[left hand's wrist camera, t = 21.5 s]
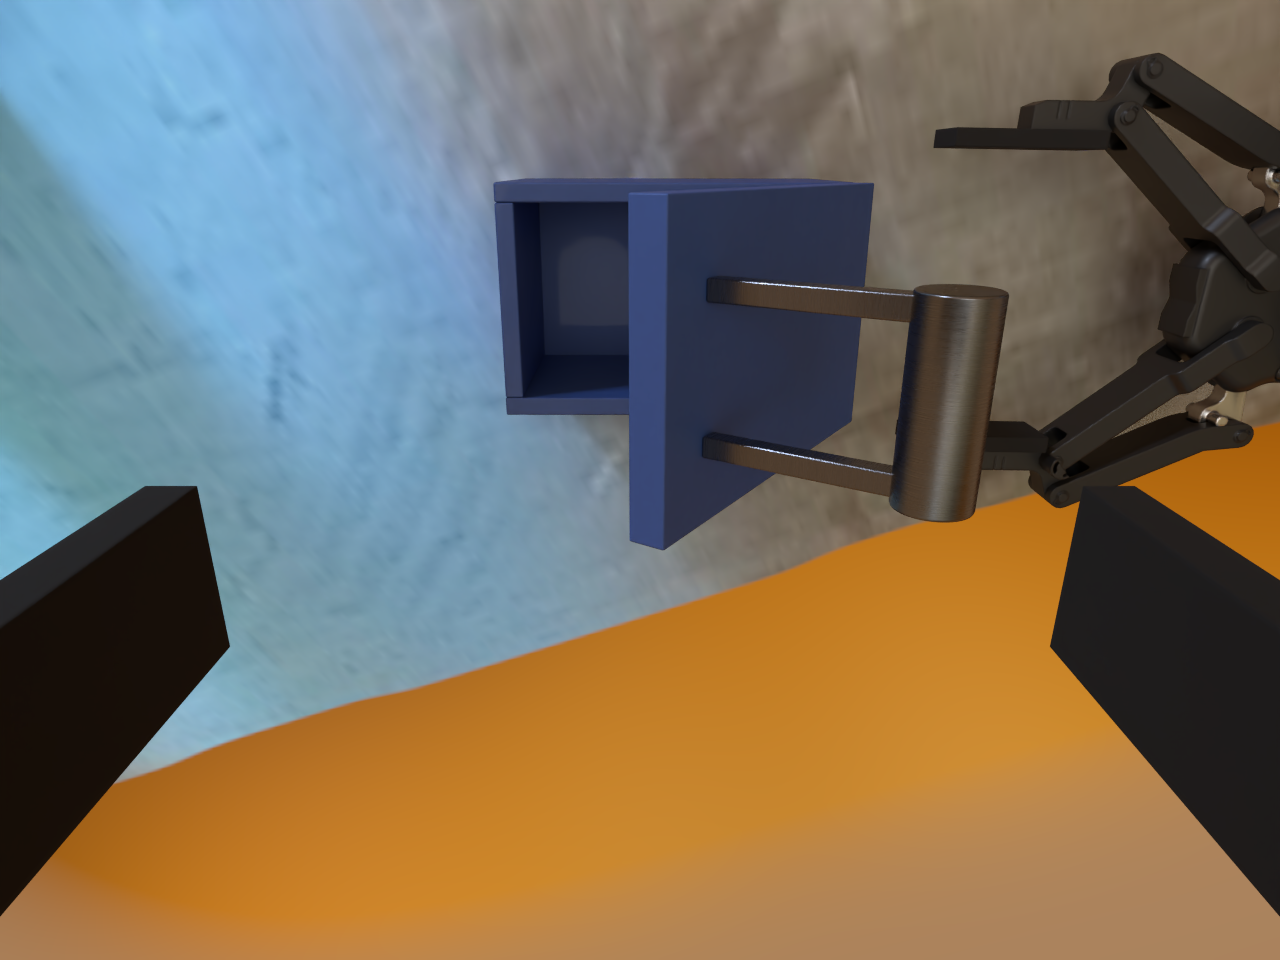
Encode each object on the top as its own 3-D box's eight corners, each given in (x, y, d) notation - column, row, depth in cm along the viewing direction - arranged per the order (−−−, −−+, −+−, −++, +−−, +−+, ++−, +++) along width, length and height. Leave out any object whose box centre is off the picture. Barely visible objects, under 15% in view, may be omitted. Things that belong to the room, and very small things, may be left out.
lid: (628, 541, 25) (937, 629, 20) (627, 192, 21) (1001, 200, 17) (825, 417, 37) (1045, 453, 33) (845, 182, 34) (1095, 185, 29)
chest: (533, 365, 47) (506, 414, 38) (524, 178, 43) (493, 182, 34) (796, 365, 47) (835, 415, 38) (809, 178, 43) (855, 182, 34)
